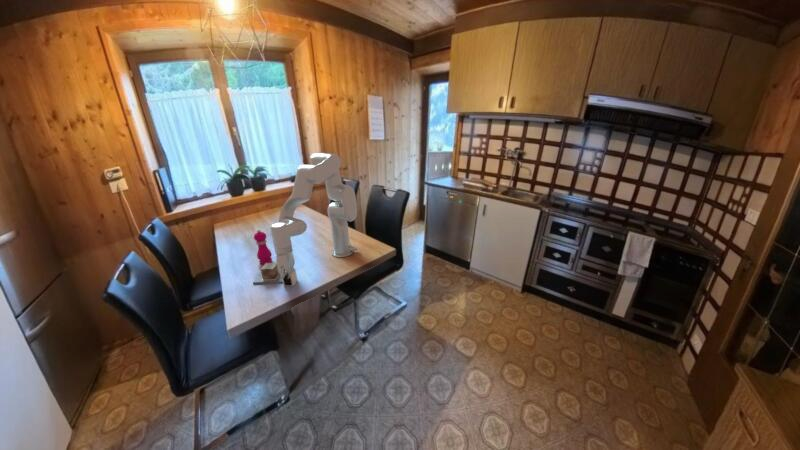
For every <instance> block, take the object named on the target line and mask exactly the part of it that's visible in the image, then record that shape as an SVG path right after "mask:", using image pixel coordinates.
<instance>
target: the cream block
mask: <svg viewBox="0 0 800 450" xmlns="http://www.w3.org/2000/svg"><path fill="white" fill-rule="evenodd" d="M285 272H286V271H285ZM285 275H287V274H285ZM297 277H298V276H297V272H296V269H295V268H294V269H293V270H291V271H290V272H289V278H291V283H292V285H285V284H284V280H283V278H282V281H283V283H282V285H283V287H289V286H290V287H291V286H293V287H294V286H295V285H296V282H297V281H298V278H297Z"/></svg>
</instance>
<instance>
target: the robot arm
mask: <svg viewBox="0 0 800 450" xmlns="http://www.w3.org/2000/svg"><path fill="white" fill-rule="evenodd" d="M309 162H310V164H301V165H299V166H298V168H297V169H296V174H295V178H294V183H293V188H292V191H291V195H290V196H289V197H288V198H287V199H286V201H285V203H283V205H282V207H281V209H280V213H279V218H278V222H276V223H273V224H272V225H270V233H271V239H272V242H273V249H274V253H275V255H276V256H275V257H276V258H275V259H276V263H277V269H278V273H279V274H281V278H283V280H284V284H285V285H292V283H291V278H289V272H290V271H291V270H293V269H295V267H294V266H295V265H296V264H295V263H296V262H295V257H294V253H293V250H294V249H293V245H292V237H295V236H296V237H297V236H300V235H303V234H304V233H305V232H306V231H307V228H308V226H307V225H308V224H307V223H306V221H304V220H302V219H300V218H297V217H294V215H295V213H296V211H297V208H298V207H299V206H301V205H303V204H304V203H306V202H308V201H310V199H311V196H312V192H313V188H314V184H316V185H320V184H323V183H324V184H325V189H326V193H327V197H328V199H329V200H331V201H332V202H331V203H329V204H328V206H327V215H328V218H329V221H330V228H331V236H332V244H333V249H332V250H331V255H332V256H333V257H335V258H346V257H348V256H350V255H352V254H353V253H354V251H358V247H357V246H356V245H352V243H350V233H349V223H348V222H350V223H351V222H353V221H355V220H356V219H357V216H358V206H357V205H358V204H357V197H356V193H355V192H356V191H355V190H354V188H353V187H352V186H351V185H348V184H343V182H342V177H341V176H342V175H341V174H340V168H341V166H342V159H341V157H340V156H339V155H338V154H336V153H335V154H334V153H327V152H314V153H312V154H311V155H310V161H309ZM333 201H334V202H333ZM285 271H286V272H285ZM285 274H287V275H285Z"/></svg>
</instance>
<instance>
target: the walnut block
mask: <svg viewBox="0 0 800 450" xmlns="http://www.w3.org/2000/svg"><path fill="white" fill-rule="evenodd" d="M260 273H262V277H263V280H269V279H276V278H277V276H278V275H279V273H278V269H277V262H271V263H265V265H262V267H261V268H260Z"/></svg>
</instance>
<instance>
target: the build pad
mask: <svg viewBox="0 0 800 450" xmlns="http://www.w3.org/2000/svg"><path fill="white" fill-rule="evenodd" d="M252 284H253V285H263V284H265V285H266V284H267V285H268V284H269V285H270V284H283V281H282V278H281V274H279V275H278V276H277V278H276V279H269V280H263V277H262V273H261V272H260V273H259V275H257V277H256V278H255V279H254V281H253V282H252Z"/></svg>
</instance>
